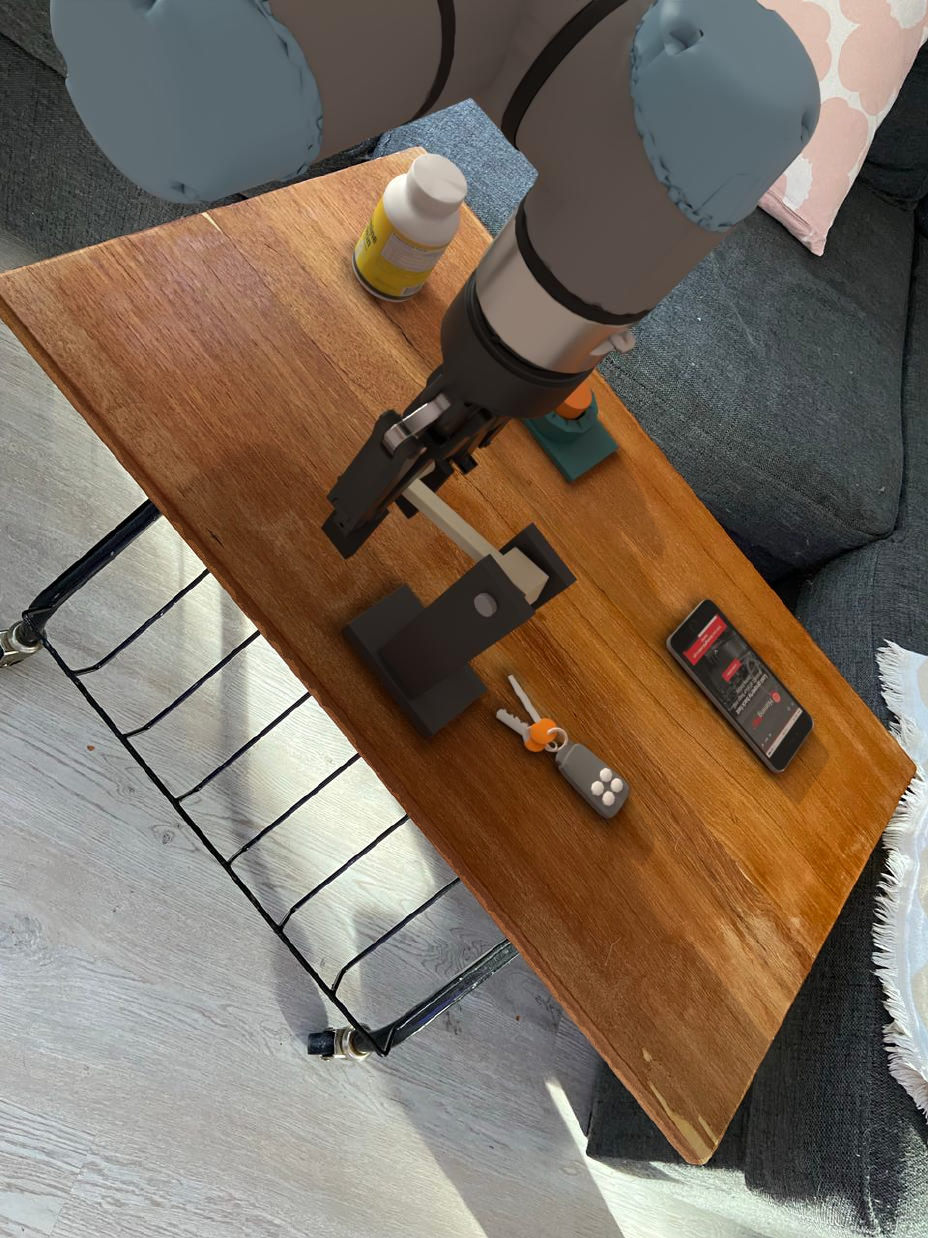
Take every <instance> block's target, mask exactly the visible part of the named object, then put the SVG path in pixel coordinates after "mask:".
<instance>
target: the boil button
mask: <svg viewBox="0 0 928 1238" xmlns="http://www.w3.org/2000/svg"><path fill="white" fill-rule="evenodd" d="M589 387H590V386H589V384H588V383H587V382H586V381H585V380H584V381H583V382H582V384H581V385H580V386H579V387H578V388H577V389H576V390H575V391H574V392H573V393H572V394H571V395H570V396H569V397H568V398H567V399H566V400H565V401H564V402H563V403H562V404H561V405H560V406H559V407H558V408H557V409H555V410H554V412H555V413H556V414H557V415H559V416H560V417H562V418H565V419H575V418H577V417H578V416H579V415H580V414H581V413H582V412H583V411H584V410H585V409H586V408H587V407H588V406H589V405H590V404H591V401H592V394H591V390H592V389H591V387H590V388H589ZM590 389H591V390H590Z"/></svg>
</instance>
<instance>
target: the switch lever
mask: <svg viewBox="0 0 928 1238" xmlns="http://www.w3.org/2000/svg"><path fill="white" fill-rule="evenodd" d="M434 468H435V462H433V463H432V464H431V465H430V466H429V467H428V468H427V469H426V470H425V471H424V472H423V473H422V474H421V475H420V476H419V477H418V478H417V479H416V480H415V481H414V482H413V483H412V484H411V485H410V486H409V487H408V488H407V489H406V490H405V491H404V492H403V493H402V495H403V496H404V497H405V498H407V499H408V500H409V501H410V502H411V503H412V504H413V505H414V506H415V507H416V508H417V509H419V512H421V513H422V514H423V515H424V516H425V517H426V518H427V519H428V520H429V521H430V522H431V523H433V524H434V525H435V526H436V527H437V528H438V529H439V530H440V531H441V532H442V533H443V534H445V535H446V536H447V537H448V538H449V539H450V540H451V541H452V542H453V543H454V544H456V545H457V546H458V547H459V548H460V549H461V550H462V551H463V552H464V553H465V554H466V555H468V556H469V557H470V558H471V559H472V560H473V561H474V562H475V564H476V563H478V562H479V561H480V560H481V559H483V558H484V557H486V556H487V555H488V554H491V555H492V556H493V558H494V559H495V560H496V562H497V563H498V564H499V565H500V567H501V568H502V569H503V571H504V572H505V573H506V574H507V576H508V577H509V578H510V580H511V581H512V582H513V584H514V585H515V586H516V587H517V589H518V590H519V591H520V593H521V594H522V595H523V596H524V598H525V599H526V600H527V602H528V603H529V604H530V605H531V604H532V603H533V602H534V601H536V600H537V598H538V596H539V595H540V593H541V591H542V589H543V587H544V585H545V584H546V582H547V580H548V578H549V576H547V575H546V574H545V573H544V572H543V571H542V570H541V569H540V568H539V567H537V566H536V565H535V564H534V563H533V562H532V561H531V560H530V559H529V558H527V557H526V556H525V555H524V554H523V553H522V552H521V551H520V550H519V549H517V548H516V547H515V548H513V549H512V550H511V551H509V552H508V553H506V554H505V555H504V556H503V555H502V554H501V553H500V552H499V551H498V550H499V549H497V548H496V547H494V546H493V545H492V544H491V543H490V542H489V541H488V540H486V539H485V537H483V536H482V535H481V534H480V533H479V532H478V531H477V530H476V529H474V527H472V526H471V525H470V524H469V523H468V522H467V521H466V520H464V519H463V518H462V517H461V515H459V514H458V513H457V512H455V510H454V509H452V508H451V507H450V506H449V505H448V504H447V503H446V502H444V500H443V499H441V498H440V496H438V495H437V494H436V493H433V492H432V491H431V490H430V489H429V488H428V487H427V486H426V485H425V484H423V483H422V482H421V481H420V480H419V479H421V478H422V477H424V476H425V475H427V474H429V473H430V472H432V471H433V470H434Z"/></svg>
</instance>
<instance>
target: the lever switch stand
mask: <svg viewBox="0 0 928 1238" xmlns="http://www.w3.org/2000/svg"><path fill="white" fill-rule="evenodd" d="M515 547H516V548H517V549H519V550H520V551H521V552H522V553H523V554H524V555H525V556H526V557H527V558H529V559H530V560H531V561H532V562H533V563H534V564H535V565H536V566H537V567H539V568H540V569H541V570H542V571H543V572H544V573H545V574H546V575H547V576H549V578H548V580H547V582H546V584H545V585H544V587H543V589H542V591H541V593H540V595H539V596H538V598H537V600H536V601H534V602H533V603H532V604H531V605H530V604H529V603H528V602H527V600H526V599H525V598H524V596H523V595H522V594H521V593H520V591H519V590H518V589H517V587H516V586H515V585H514V584H513V582H512V581H511V580H510V578H509V577H508V576H507V574H506V573H505V572H504V571H503V569H502V568H501V567H500V565H499V564H498V563H497V562H496V560H495V559H494V558H493V556H492V555H491V554H488V555H487V556H486V557H484V558H483V559H481V560H480V561H479V562H478V563H476V562H475V564H474V565H473V566H471V568H470V569H469V570H467V571H466V572H465V573H464V574H462V576H460V577H459V578H457V580H456V581H455V582H454V583H452V584H451V585H450V586H449V587H448V588H447V589H445V591H443V592H442V593H441V594H440V595H439V596H437V597H436V598H435V599H434V600H433V601H432V602H431V603H430V604H428V605H427V606H426V607H425V606H424V604H423V603H422V602H421V600H420V599H419V598H418V596H417V595H416V594H415V593H414V591H413V590H412V589H411V588H410V586H409V584H408V583H406V582H405V583H404V584H402V585H401V586H398V587H397V588H396V589H395V590H394V591H392V592H391V593H389V594H388V595H386V596H385V597H384V598H381V599H380V600H379V601H378V602H376V603H374V604H373V605H372V606H370V607H369V608H368V609H366V610H365V611H363V612H362V613H360V614H359V615H357V616H356V617H355V618H354V619H351V620H350V621H349V622H348V623H346V625H344V626H343V627H342V629H341V630H340V631H341V633H342V634H343V635H344V637H345V638H346V640H348V642H349V643H350V645H351V646H352V647H353V648H354V650H355V651H356V653H357V654H358V655H359V656H360V658H361V659H362V660H363V662H364V663H365V664H366V665H367V667H368V668H369V669H370V671H371V672H372V673H373V674H374V675H375V677H376V678H377V680H378V681H379V682H380V683H381V684H382V687H384V689H385V690H386V691H387V692H388V694H389V695H390V696H391V698H392V699H393V700H394V701H395V703H396V704H397V705H398V707H399V708H400V709H401V711H402V712H403V713H404V714H405V716H406V717H407V718H408V719H409V721H410V722H411V723H412V725H413V726H414V727H415V729H416V730H417V731H418V733H419V734H420V736H422V738H423V739H424V740H425V741H426V740H428V739H429V738H432V737H433V736H434V735H435V734H437V733H438V732H439V731H440V730H442V729H443V728H444V727H445V726H446V725H448V724H449V723H450V722H451V721H452V720H454V719H455V718H456V717H457V716H458V715H460V713H462V712H463V711H464V710H465V709H466V708H468V707H469V706H470V705H471V704H472V703H473V702H475V701H476V700H477V699H478V698H479V697H480V696H482V695H483V694H484V693H485V692H487V691H488V689H489V688H488V686H487V685H485V683H484V682H483V681H482V679H481V678H480V677H479V675H478V674H477V672H475V670H474V669H473V668H472V667H471V665H470V663H469V662H471V661H473V660H474V659H475V658H476V657H478V656H479V655H481V654H483V652H485V651H487V650H488V649H489V648H491V647H492V646H493V645H495V644H496V643H498V642H499V641H501V640H502V639H504V638H505V637H506V636H508V635H509V634H511V633H513V631H515V630H516V629H518V628H520V626H522V625H523V624H525V623H526V622H528V621H530V619H531V618H532V617H534V616H535V615H536V614H537V612H536V611H537V610H539V609H540V608H541V607H543V606H544V605H545V604H547V603H548V602H550V601H551V600H553V599H554V598H555V597H557V596H558V595H560V594H561V593H562V592H564V591H565V590H567V589H569V587H571V586H572V585H573V584H574V583H576V582H577V581H578V578H577V577H576V576H575V574H574V573H573V572H572V570H571V569H570V568H569V567H568V565H567V563H565V561H564V560H563V559H562V557H561V556H560V555H559V554H558V552H557V551H556V550H555V549H554V547H553V546H552V545H551V544H550V542H549V541H548V540H547V538H546V537H545V536H544V534H543V533H542V532H541V530H540V529H539V527H538V526H537V525H536V524H535V523H534V522H531V523H529V524H528V525H527V526H526V527H524V528H523V529H522V530H520V531H518V533H517V534H516V535H514V536H513V537H512V538H511V539H510V540H509V541H508V542H507V543H505V544H504V545H503V546H502V547H500V549H497V550H498V551H499V552H500V553H501V554H502V555H503V556H504V555H505V554H506V553H508V552H509V551H511V550H512V549H513V548H515Z"/></svg>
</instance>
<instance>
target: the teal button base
mask: <svg viewBox="0 0 928 1238" xmlns="http://www.w3.org/2000/svg"><path fill="white" fill-rule="evenodd" d="M589 388H590V390H591V394H592V401H591V404H590V405H589V406H588V407H587V408H586V409H585V410H584V411H583V412H582V413H581V414H580V415H579V416H578V417H577V418H575V419H565V418H562V417H560V416H559V415H557V414H556V413H555V412H554V411H553V412H551V413H549V414H547V415H545V416H542V417H539V418H534V419H519V420H520V422H521V423H522V424H523V426H524V427H525V429H526V430H527V431H528V433H530V435H531V436H532V437H533V439H534V440H535V441H536V443H537V445H539V446H540V448H541V449H542V450H543V451H544V453H545V454H546V456H547V457H548V458H549V459H550V461H551V462H552V464H554V465H555V467H556V469H557V470H558V471H559V472H560V474H561V475H562V476H563V477H564V479H565V481H567V482H568V484H572V483H573V482H574V481H575V480H578V478H580V477H582V476H583V475H584V474H586V473H587V472H588V471H589V470H591V469H593V468H594V467H596V466H597V465H598V464H599V463H601V462H602V461H604V460H605V459H606V458H607V457H609V456H610V455H612V454H613V453H615V452H616V451H617V450H618V449H619V448H620V446H619V445H618V444H617V443H616V441H615V440H614V438H613V437H612V436H611V435H610V434H609V432H608V431H607V430H606V428H605V427H604V426H603V424H602V423H601V422H600V420H599V419H598V418H597V417H598V413H599V407H598V403H597V398H596V396H595V392H594V391H593V390H592V388H591V387H590V386H589Z"/></svg>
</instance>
